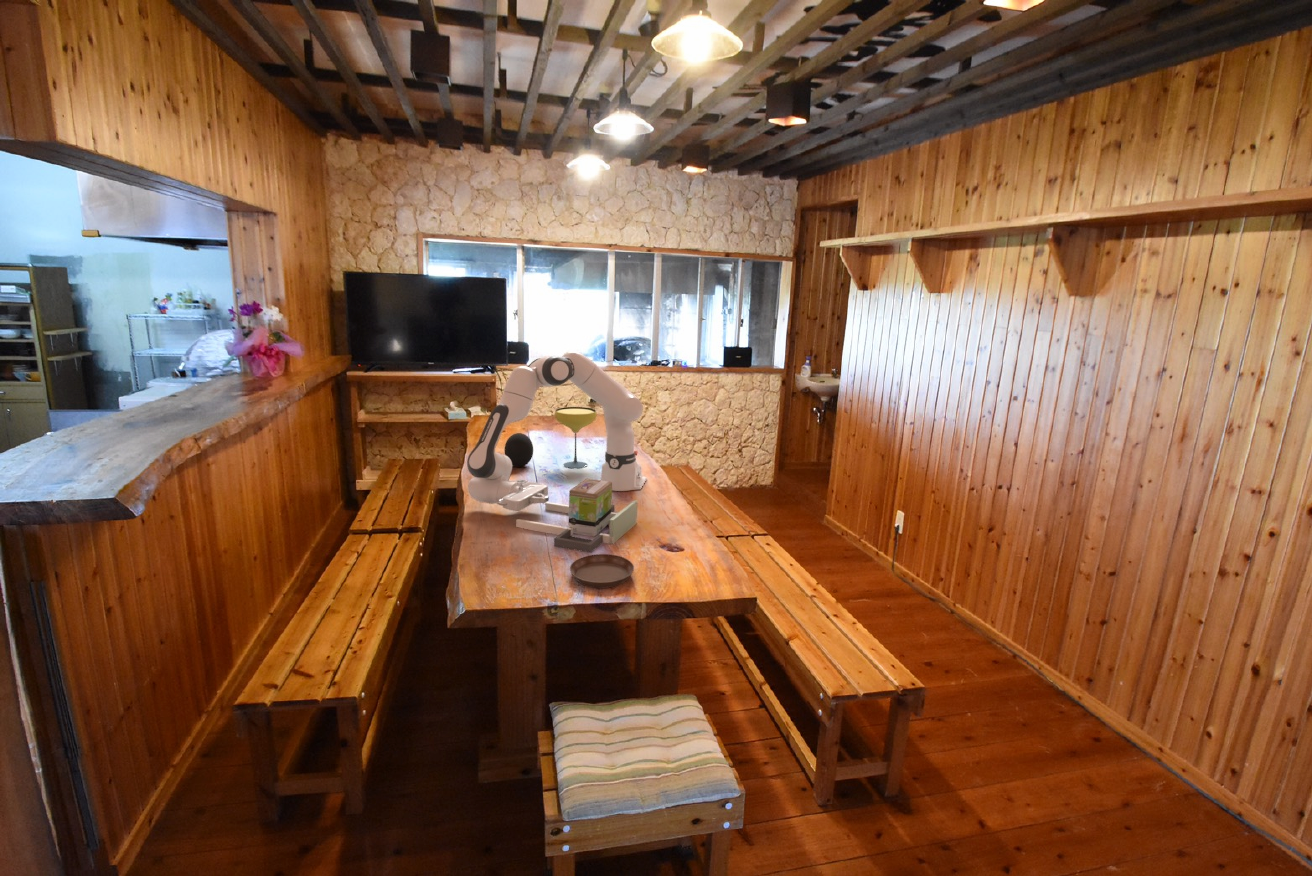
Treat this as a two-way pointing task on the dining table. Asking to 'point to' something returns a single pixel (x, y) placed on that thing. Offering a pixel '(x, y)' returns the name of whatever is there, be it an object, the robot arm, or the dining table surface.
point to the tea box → (590, 507)
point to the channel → (617, 529)
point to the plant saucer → (602, 570)
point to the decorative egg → (519, 449)
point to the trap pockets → (578, 540)
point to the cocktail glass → (575, 425)
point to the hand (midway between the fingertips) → (546, 500)
